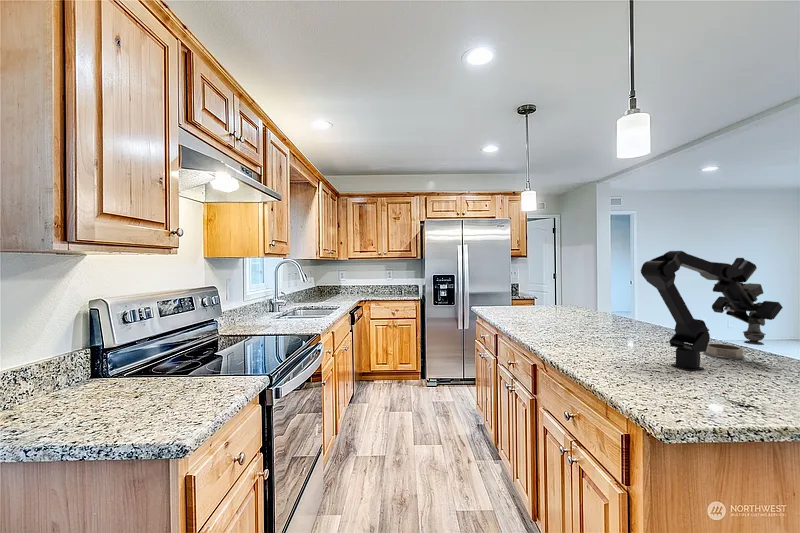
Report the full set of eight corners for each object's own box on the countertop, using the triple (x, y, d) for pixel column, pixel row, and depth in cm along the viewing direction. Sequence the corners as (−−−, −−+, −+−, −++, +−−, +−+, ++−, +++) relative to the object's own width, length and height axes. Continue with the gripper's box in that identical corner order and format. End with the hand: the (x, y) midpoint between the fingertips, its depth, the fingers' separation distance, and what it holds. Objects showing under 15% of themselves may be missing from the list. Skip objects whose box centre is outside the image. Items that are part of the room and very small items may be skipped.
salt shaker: (754, 341, 137) (755, 307, 137) (770, 345, 131) (771, 309, 131) (737, 341, 137) (738, 307, 137) (752, 345, 132) (753, 309, 131)
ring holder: (728, 360, 137) (728, 351, 137) (695, 352, 148) (695, 344, 148) (752, 358, 140) (753, 349, 140) (719, 350, 151) (719, 342, 151)
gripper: (779, 276, 124) (803, 310, 127) (718, 274, 142) (741, 303, 145) (759, 302, 122) (784, 335, 125) (701, 296, 140) (723, 325, 143)
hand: (757, 323), depth 135 cm, fingers closed on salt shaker, 4 cm apart
